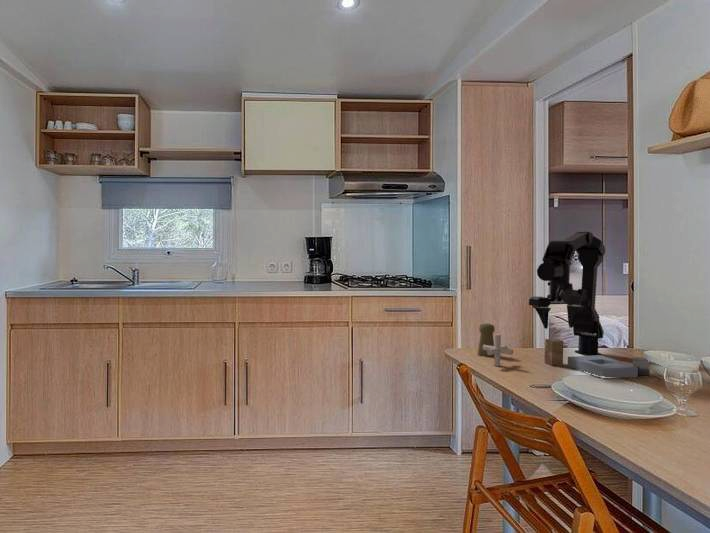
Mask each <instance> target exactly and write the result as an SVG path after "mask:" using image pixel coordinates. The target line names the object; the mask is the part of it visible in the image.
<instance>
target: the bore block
mask: <svg viewBox="0 0 710 533" xmlns="http://www.w3.org/2000/svg"><path fill="white" fill-rule="evenodd" d="M567 367H568V368H572V369H574V368H575V369H574V370H577V369H578V371H579V370H581V371H580V372H582V371H585V372H588V373H591V374H595V375H598V376H605V377H629V378H638V377H639V376H638V367H636V366H633V364H629V363H627V362H623V361H619V360H617V359H613V358H610V357H607V356H604V355H602V354H601V355H577V356H575V355H573V356H567ZM585 372H584V373H585ZM637 376H638V377H637Z"/></svg>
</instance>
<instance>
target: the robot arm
mask: <svg viewBox="0 0 710 533" xmlns="http://www.w3.org/2000/svg"><path fill="white" fill-rule="evenodd" d="M575 252H576V253H577V256H578V257H577V258H578V261H579V263H580V265H581V266H582V276H581V288H578V289H574V288H573V283H571V282H570V279H571V278H570V273H571V271H570V270H571V266H572V265H573V264H572V262H571V260H572V258H573V256H574V255H575V254H576V253H575ZM605 254H606V247H605V245H604V242H602V240H601V239H599V238H598V237H596V236H595V235H594V234H593V232H590V231H577V232H575V234H572V235H570V236H568V237H566V238H565V239H558V240H557V239H555V240H550V241H549V243H548V244H547V247H546V249H545V251H544V255H543V257H542V263H541V264H540V265H538V267H537V269H536V272H537V276H538V278H539V279H540V280H541V281H543V282H547V286H549V294H547V297H545V296H530V298H529V300H528V306H532V309H534V310H535V311H536V313H537V315H538V316H539V319H540V321H541V324H542V326H543V328H544V329H547V330H548V327H549V312H550V310H552V308H551V307H549V306H551V305H566V311H567V322H568V328H570V329H573V336H575V337H576V336H577V337H578V346H577V347H578V348H577V349H578V350H577V349H575V350H574V352H575V353H578V354H580V355H582V356H594V355H601V356H602V353H601V352H599V339H603V338H604V332H605V331H604V328H603V326H602V324H601V322H600V314H598V312H597V310H596V299H597V297H596V296H597V281H598V280H597V279H598V268H599V267H600V265H601V264H602V262H604V255H605Z"/></svg>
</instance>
